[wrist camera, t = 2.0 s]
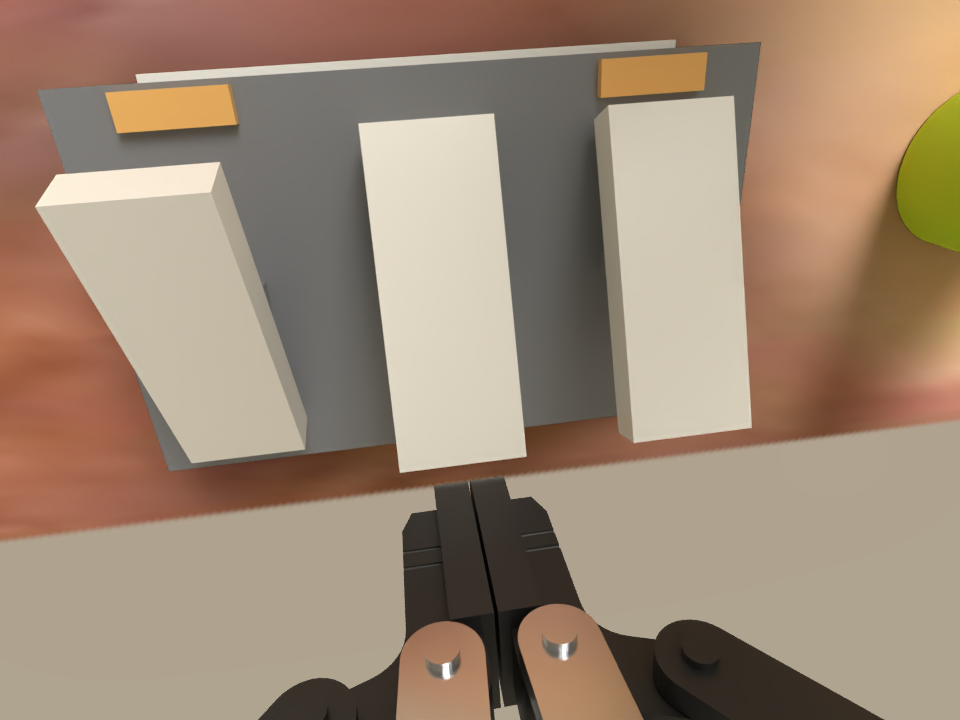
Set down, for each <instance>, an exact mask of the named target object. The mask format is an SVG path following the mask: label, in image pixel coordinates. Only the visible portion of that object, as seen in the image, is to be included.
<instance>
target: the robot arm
mask: <svg viewBox="0 0 960 720" xmlns="http://www.w3.org/2000/svg"><path fill="white" fill-rule="evenodd" d="M434 490H435V499H436V507H437V510H434V511H427V512H420V513H413V514H411V516H410V518H409V520H408V522H407V524H406V526H405V528H404V530H403V532H402V534H403V560H404V561H403V563H404V588H405V589H404V590H405V618H406V638H405V642H404V645H403V648H402V650H401V652H400V654H399V655H398V657H397V658H396V659H395V661H394V662H393V663H392V664H391V665H390V666H389V667H388V668H387V669H386V670H384V671H383V672H382V673H380V674H379V675H377V676H375V677H374V678H372V679H370V680H368V681H366V682H364V683H362V684H359V685H357V686H355V687H353V688H351V689H348V688H347V687H346V686H345V685H344V684H342V683H341V682H338V681H336V680H333V679H328V678H317V679H311V680H307V681H304V682H301V683H299V684H297V685H295V686H293V687H292V688H290V689H289V690H287V691H286V692H285V693H283V694H282V695H281V696H280V697H279V698H278V699H277V700H276V701H275V702H274V703H273V704H272V705H271V706H270V707H269V709H268V710H267V711H266V712H265V713H264V714H263V715H262V716H261V717H260V718H259V719H258V720H495V718H494V709H496V708H500V707H501V704H500V690H499V680H500V685H501V691H502V696H503V701H504V706H505V707H506V706H511V705H518V710H519V715H520V719H521V720H884V719H882V718H880V717H878V716H876V715H874V714H873V713H871V712H869V711H867V710H866V709H864V708H862V707H860V706H859V705H857V704H855V703H853V702H851V701H850V700H848V699H846V698H844V697H842V696H841V695H839V694H837V693H835V692H833V691H832V690H830V689H828V688H826V687H824V686H823V685H821V684H819V683H817V682H815V681H814V680H812V679H810V678H808V677H806V676H805V675H803V674H801V673H799V672H797V671H796V670H794V669H792V668H790V667H788V666H787V665H785V664H783V663H781V662H779V661H778V660H776V659H774V658H772V657H771V656H769V655H767V654H765V653H763V652H762V651H760V650H758V649H756V648H755V647H753V646H751V645H749V644H747V643H746V642H744V641H742V640H740V639H738V638H736V637H735V636H733V635H731V634H729V633H728V632H726V631H724V630H722V629H720V628H719V627H716V626H714V625H712V624H709V623H707V622H703V621H698V620H681V621H676V622H673V623H671V624H669V625H667V626H666V627H664V628H663V629H662V630H661V631H660V632H659V634H658V636H657V638H656V640H655V639H648V638H640V637H632V636H625V635H620V634H617V633H614V632H611V631H609V630H607V629H605V628H603V627H601V626H600V625H598V624H597V623H596V622H595V621H594V620H593V618H592V617H591V616H589V615H588V614H587V613H586V612H585V611H584V609H583V607H582V605H581V603H580V600H579V598H578V595H577V593H576V590H575V587H574V584H573V581H572V579H571V576H570V573H569V571H568V568H567V565H566V562H565V560H564V557H563V554H562V552H561V549H560V548H559V543H558V541H557V538H556V535H555V533H554V532H553V527H552V525H551V522H550V519H549V516H548V514H547V511H546V510H545V509H544V508H543V507H542V506H540V505H539V504H538V503H537V502H536V501H535V500H534V499H533V498H532V497H526V498H519V499H512V500H511V499H510V496H509V492H508V489H507V486H506V482H505V479H504V477H503V476H502V477H495V478H487V479H480V480H472V481H470V491H469V486H468V482H467V481H466V482H459V483H451V484H444V485H436V486H434ZM470 494H471V496H470Z"/></svg>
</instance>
